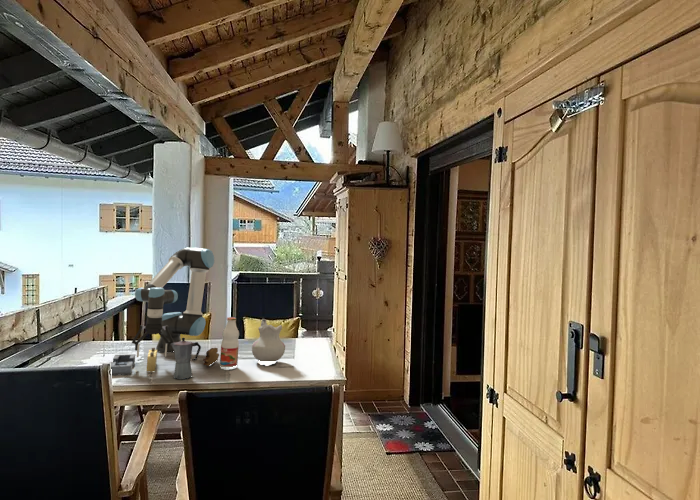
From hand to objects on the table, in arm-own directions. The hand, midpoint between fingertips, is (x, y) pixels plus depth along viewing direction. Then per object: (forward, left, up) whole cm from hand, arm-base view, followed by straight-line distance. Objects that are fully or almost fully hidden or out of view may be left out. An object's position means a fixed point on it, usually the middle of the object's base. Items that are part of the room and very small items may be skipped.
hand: (151, 356), depth 233 cm
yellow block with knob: (0, 0, -6) cm, 6 cm away
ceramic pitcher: (-62, -3, -6) cm, 62 cm away
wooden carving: (-30, 0, -6) cm, 31 cm away
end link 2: (+14, +6, -6) cm, 16 cm away
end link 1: (+14, -7, -6) cm, 17 cm away
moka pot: (-16, +19, -6) cm, 25 cm away
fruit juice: (-40, +6, -6) cm, 40 cm away
